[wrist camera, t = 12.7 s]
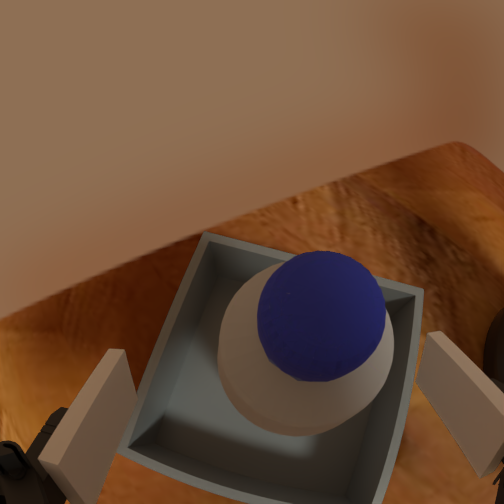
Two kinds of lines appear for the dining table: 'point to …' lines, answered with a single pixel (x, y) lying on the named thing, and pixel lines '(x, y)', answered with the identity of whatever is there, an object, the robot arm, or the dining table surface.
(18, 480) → the robot arm
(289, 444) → the tray
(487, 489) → the dining table surface
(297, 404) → the bottle
